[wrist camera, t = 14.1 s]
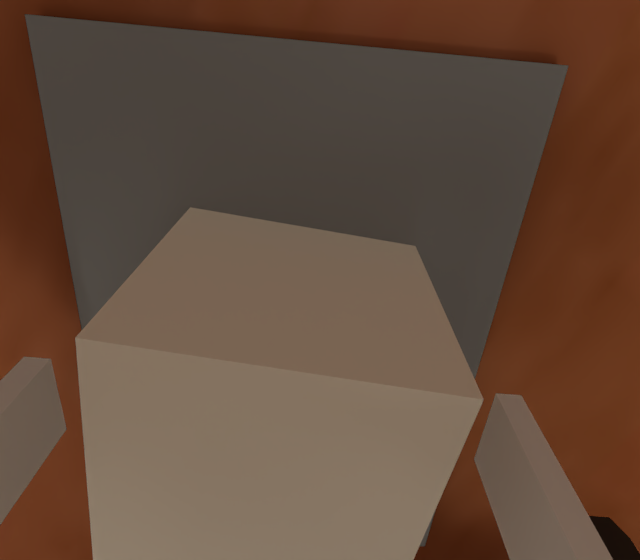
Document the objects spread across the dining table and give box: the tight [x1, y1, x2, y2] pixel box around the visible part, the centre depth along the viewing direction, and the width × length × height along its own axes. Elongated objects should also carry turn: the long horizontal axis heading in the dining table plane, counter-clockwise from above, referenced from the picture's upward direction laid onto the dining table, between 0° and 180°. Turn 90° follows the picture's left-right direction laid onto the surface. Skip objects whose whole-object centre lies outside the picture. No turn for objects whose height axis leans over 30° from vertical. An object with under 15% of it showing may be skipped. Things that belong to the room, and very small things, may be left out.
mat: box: [25, 14, 568, 546], centre depth 16 cm, size 20×14×1 cm
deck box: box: [75, 207, 484, 560], centre depth 13 cm, size 10×7×7 cm
